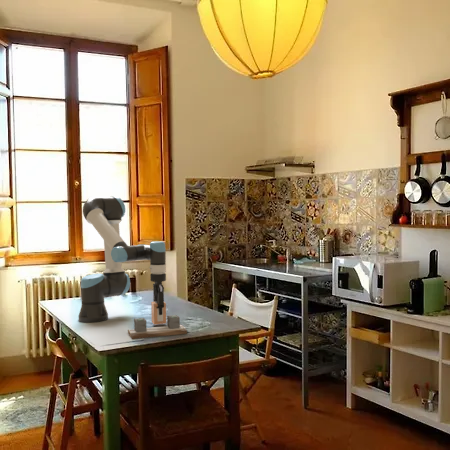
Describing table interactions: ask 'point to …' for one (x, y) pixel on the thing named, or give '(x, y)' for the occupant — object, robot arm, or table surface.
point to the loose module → (154, 313)
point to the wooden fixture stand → (157, 328)
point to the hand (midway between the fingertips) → (158, 319)
